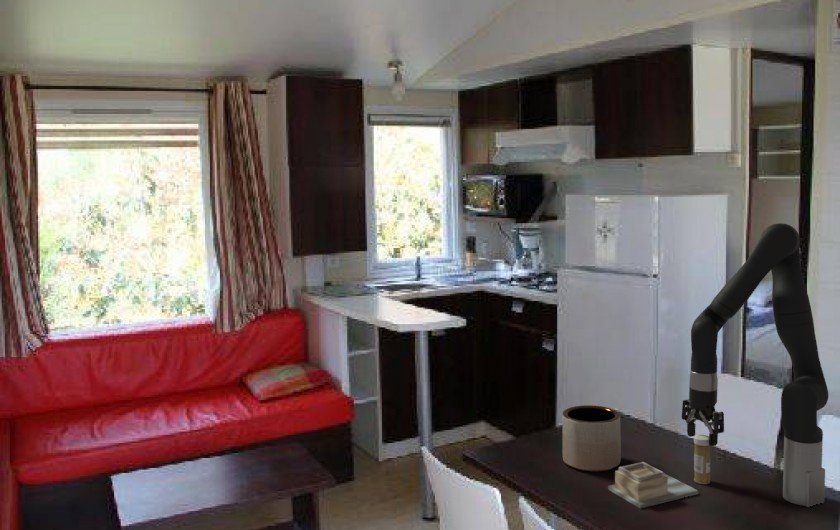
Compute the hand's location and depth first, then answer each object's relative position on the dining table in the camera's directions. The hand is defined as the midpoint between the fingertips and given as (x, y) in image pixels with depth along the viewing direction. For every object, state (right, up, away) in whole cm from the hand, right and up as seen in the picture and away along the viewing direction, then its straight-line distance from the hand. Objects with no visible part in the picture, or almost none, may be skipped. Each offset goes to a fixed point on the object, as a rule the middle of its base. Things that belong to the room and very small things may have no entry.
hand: (701, 440), depth 217 cm
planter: (-28, -11, +19) cm, 35 cm away
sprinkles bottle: (0, -12, +1) cm, 12 cm away
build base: (-16, -13, -5) cm, 21 cm away
